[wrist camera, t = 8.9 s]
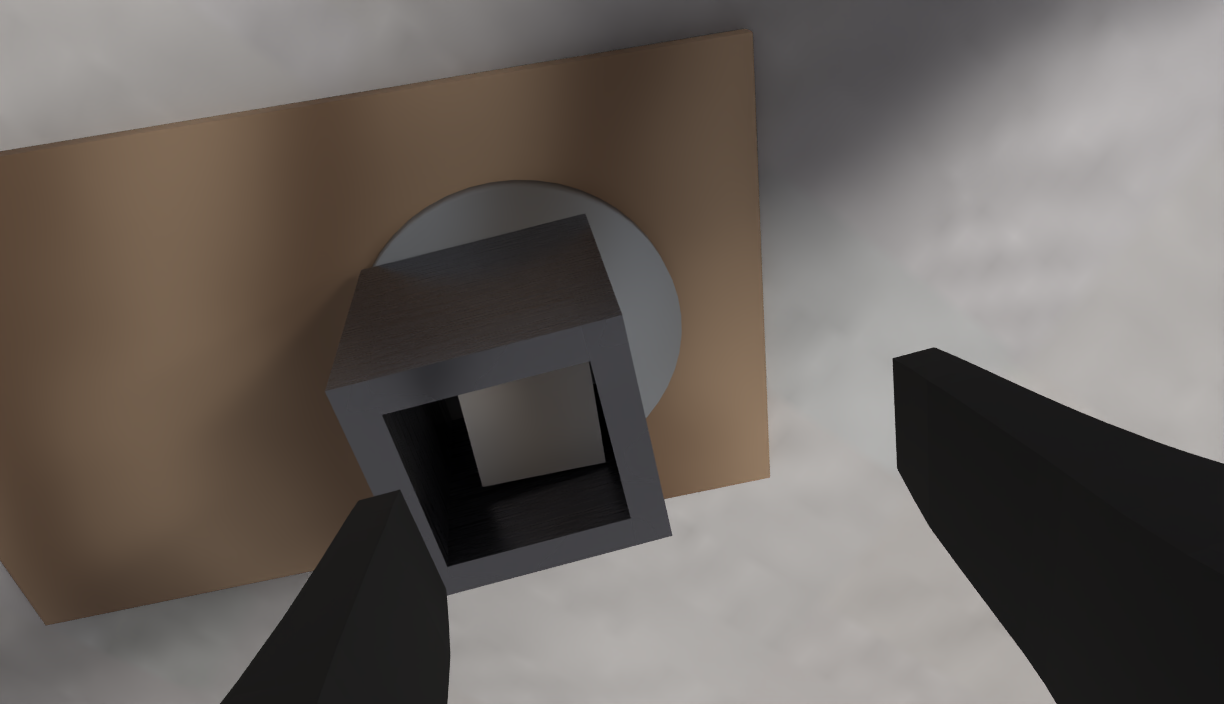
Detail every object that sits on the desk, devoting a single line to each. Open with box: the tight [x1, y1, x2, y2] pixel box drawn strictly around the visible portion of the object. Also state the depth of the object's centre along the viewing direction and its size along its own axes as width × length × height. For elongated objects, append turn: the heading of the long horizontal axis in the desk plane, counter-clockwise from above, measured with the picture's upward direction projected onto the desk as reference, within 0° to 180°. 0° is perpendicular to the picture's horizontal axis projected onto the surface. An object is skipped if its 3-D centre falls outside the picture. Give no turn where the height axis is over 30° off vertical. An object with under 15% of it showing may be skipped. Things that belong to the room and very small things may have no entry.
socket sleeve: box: [325, 214, 672, 595], centre depth 17 cm, size 5×5×5 cm
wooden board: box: [0, 29, 770, 625], centre depth 18 cm, size 20×12×5 cm, turn 97°
